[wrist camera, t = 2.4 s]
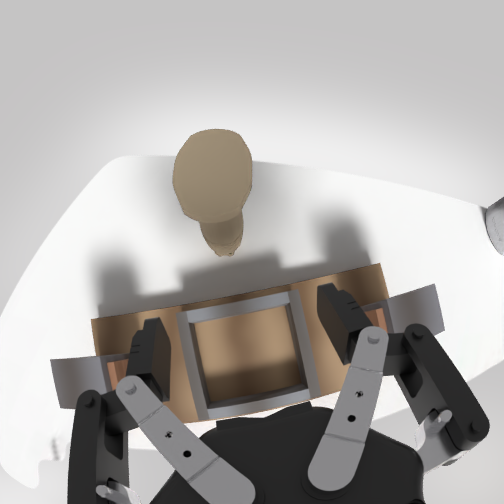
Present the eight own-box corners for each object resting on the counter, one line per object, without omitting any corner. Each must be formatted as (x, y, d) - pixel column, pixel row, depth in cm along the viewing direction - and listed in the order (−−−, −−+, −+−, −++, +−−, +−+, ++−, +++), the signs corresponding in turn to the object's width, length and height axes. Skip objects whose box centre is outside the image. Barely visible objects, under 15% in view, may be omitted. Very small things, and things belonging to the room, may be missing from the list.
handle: (202, 272, 30) (167, 216, 16) (205, 217, 32) (180, 130, 17) (247, 272, 30) (252, 215, 16) (247, 216, 32) (251, 128, 18)
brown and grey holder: (372, 267, 31) (424, 235, 20) (394, 365, 27) (455, 372, 17) (99, 320, 28) (40, 310, 17) (119, 421, 25) (70, 452, 14)
